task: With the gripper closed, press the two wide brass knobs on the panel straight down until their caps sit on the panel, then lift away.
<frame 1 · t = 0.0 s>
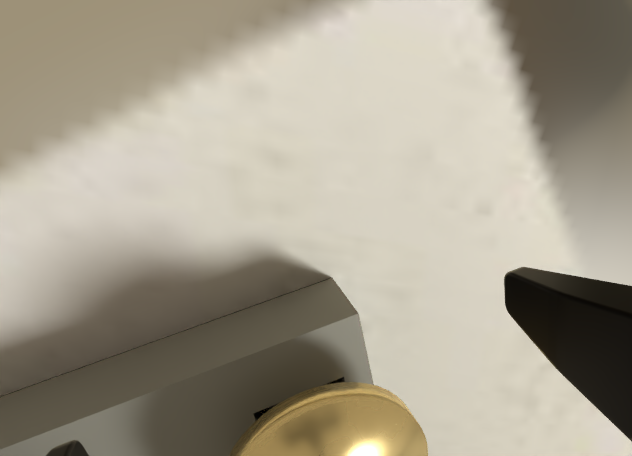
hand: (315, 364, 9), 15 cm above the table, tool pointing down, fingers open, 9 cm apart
knob 1: (317, 448, 23), point 5 cm above the table, slide at 0.0 cm
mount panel: (163, 431, 26), on the table
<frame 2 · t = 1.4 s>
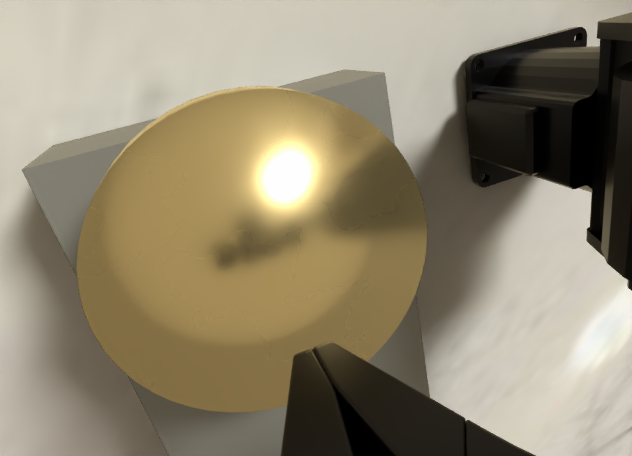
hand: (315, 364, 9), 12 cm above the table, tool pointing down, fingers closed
knob 1: (257, 240, 15), point 5 cm above the table, slide at 0.0 cm
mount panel: (279, 337, 23), on the table
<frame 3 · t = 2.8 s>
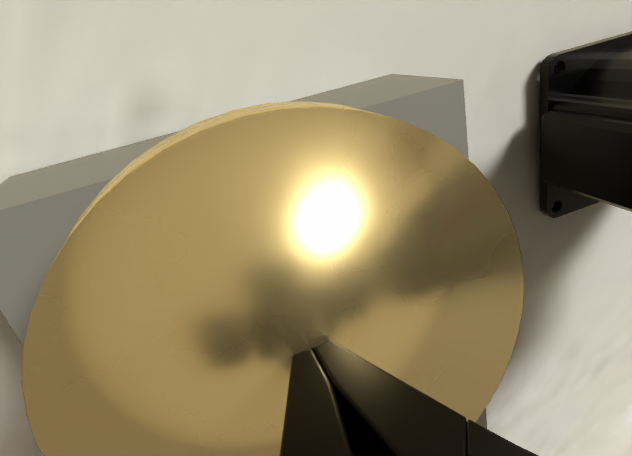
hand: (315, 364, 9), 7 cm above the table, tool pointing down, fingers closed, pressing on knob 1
knob 1: (285, 306, 11), point 5 cm above the table, slide at 0.5 cm, touching gripper
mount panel: (303, 402, 19), on the table
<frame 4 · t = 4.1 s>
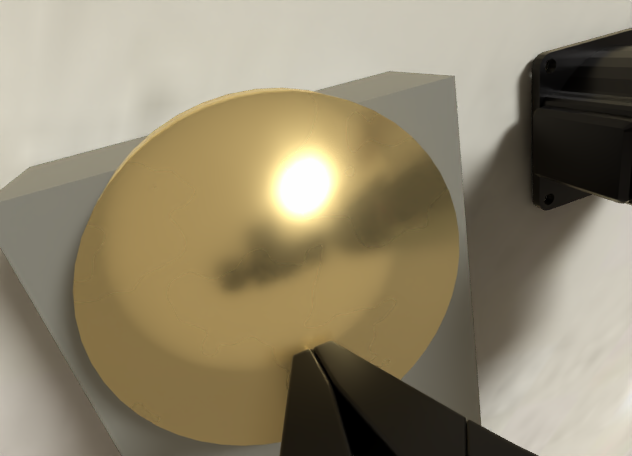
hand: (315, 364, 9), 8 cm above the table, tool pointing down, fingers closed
knob 1: (271, 256, 14), point 3 cm above the table, slide at 2.5 cm, touching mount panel
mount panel: (304, 386, 19), on the table
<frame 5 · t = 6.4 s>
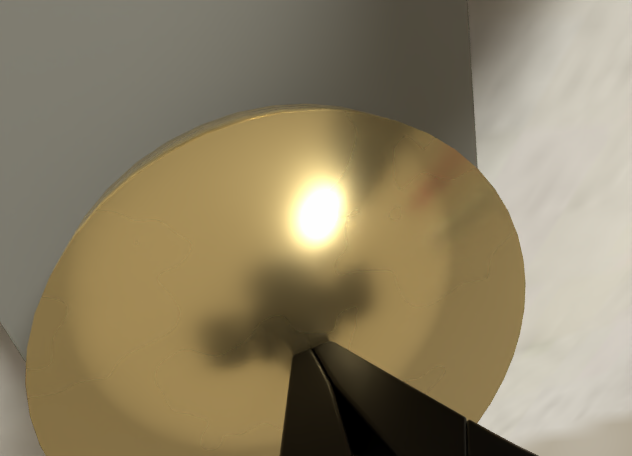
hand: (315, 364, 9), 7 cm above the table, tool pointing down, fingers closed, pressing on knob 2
knob 2: (287, 307, 11), point 5 cm above the table, slide at 0.8 cm, touching gripper
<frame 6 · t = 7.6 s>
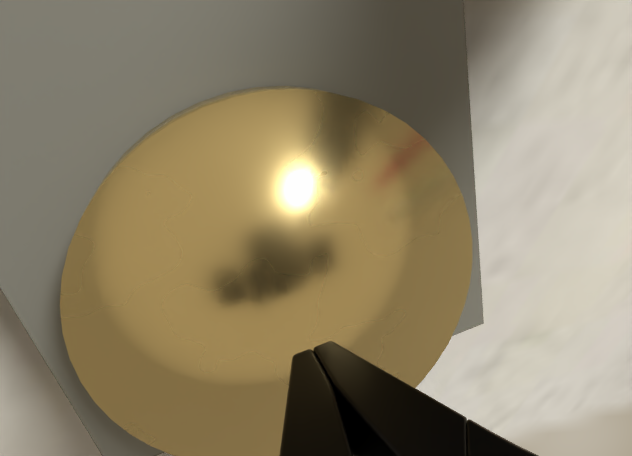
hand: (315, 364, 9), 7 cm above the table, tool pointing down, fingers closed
knob 2: (273, 264, 13), point 3 cm above the table, slide at 2.5 cm
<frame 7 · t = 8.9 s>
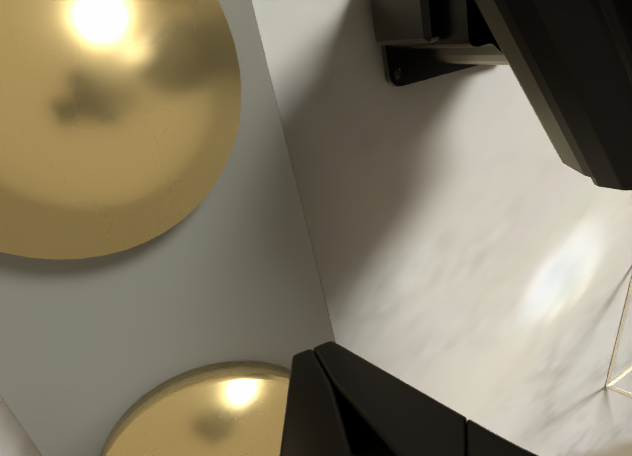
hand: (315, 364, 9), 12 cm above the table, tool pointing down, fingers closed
knob 2: (222, 436, 20), point 3 cm above the table, slide at 2.5 cm
knob 1: (69, 81, 14), point 3 cm above the table, slide at 2.5 cm, touching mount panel
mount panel: (161, 262, 20), on the table
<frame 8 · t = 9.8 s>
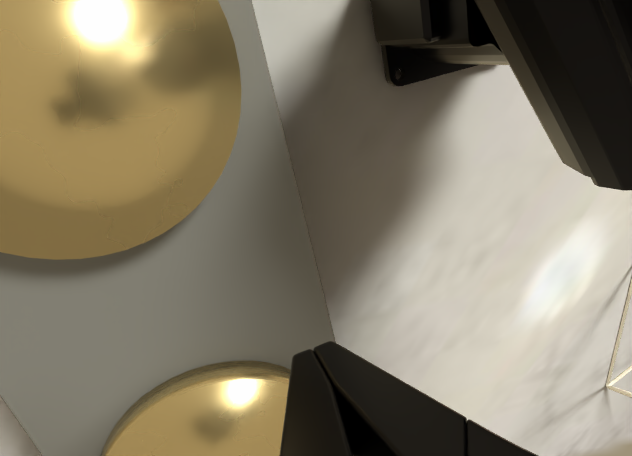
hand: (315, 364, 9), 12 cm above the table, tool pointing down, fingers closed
knob 2: (222, 436, 20), point 3 cm above the table, slide at 2.5 cm
knob 1: (69, 81, 14), point 3 cm above the table, slide at 2.5 cm, touching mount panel
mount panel: (161, 262, 20), on the table
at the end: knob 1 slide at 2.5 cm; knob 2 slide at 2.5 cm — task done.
